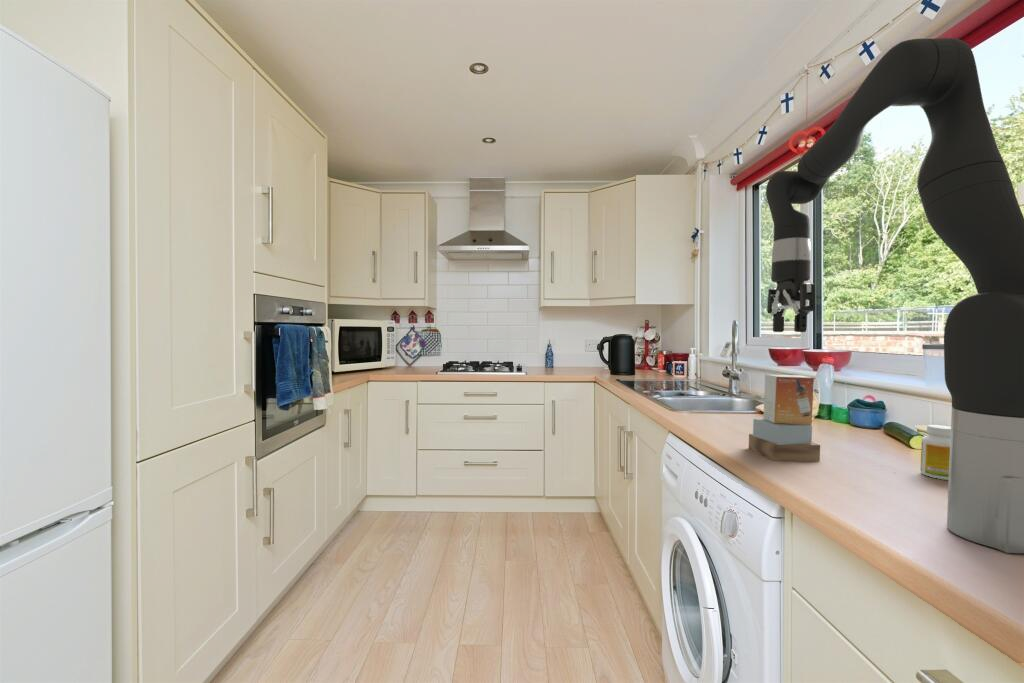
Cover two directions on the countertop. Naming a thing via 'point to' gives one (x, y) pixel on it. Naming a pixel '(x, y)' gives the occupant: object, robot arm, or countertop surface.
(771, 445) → the walnut base block
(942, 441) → the supplement bottle
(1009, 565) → the countertop surface
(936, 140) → the robot arm
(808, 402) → the small box
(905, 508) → the countertop surface
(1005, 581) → the countertop surface
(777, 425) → the slate top block
